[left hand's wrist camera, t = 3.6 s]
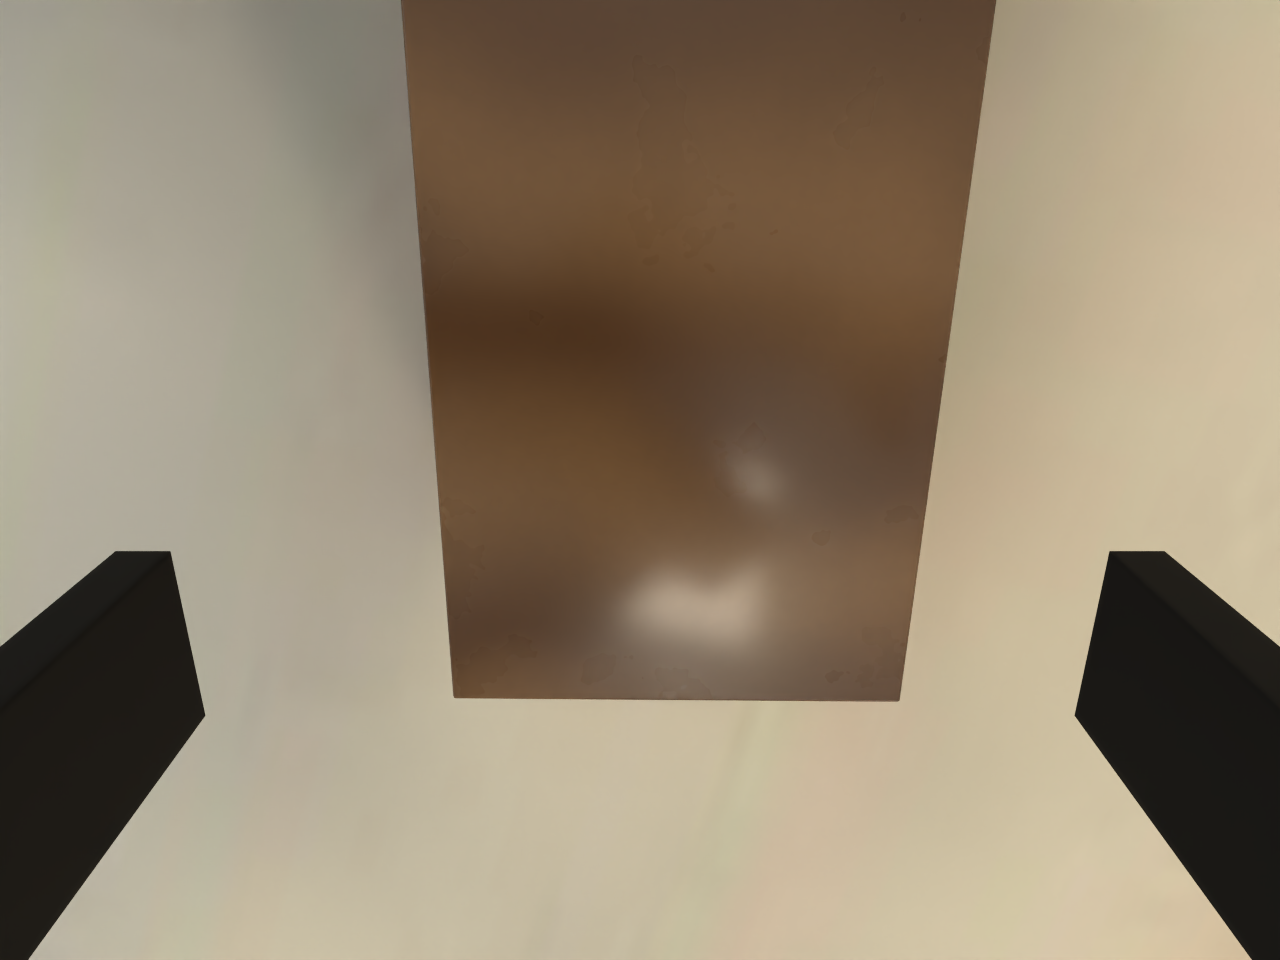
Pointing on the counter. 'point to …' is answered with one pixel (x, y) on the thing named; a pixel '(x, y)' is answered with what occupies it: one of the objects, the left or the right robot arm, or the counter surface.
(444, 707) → the counter surface
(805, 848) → the counter surface
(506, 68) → the wide beam
